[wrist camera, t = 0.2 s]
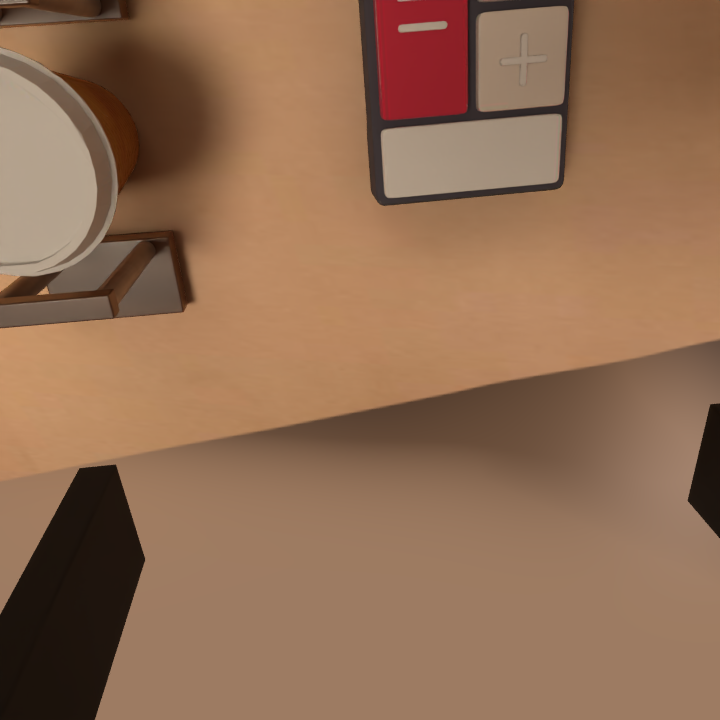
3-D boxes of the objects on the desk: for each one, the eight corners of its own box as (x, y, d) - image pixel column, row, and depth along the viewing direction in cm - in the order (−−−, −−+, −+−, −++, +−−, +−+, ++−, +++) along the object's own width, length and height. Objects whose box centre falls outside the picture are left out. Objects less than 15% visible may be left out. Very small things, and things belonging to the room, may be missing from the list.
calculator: (589, -137, 28) (569, 191, 34) (555, -109, 32) (542, 181, 38) (356, -120, 28) (378, 209, 34) (350, -94, 32) (371, 197, 38)
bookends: (-57, -85, 30) (-230, -151, 20) (106, -94, 30) (12, -163, 21) (66, 314, 40) (-11, 399, 30) (188, 304, 40) (150, 384, 31)
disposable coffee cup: (-30, 52, 33) (-191, 53, 22) (147, 39, 33) (72, 33, 23) (26, 225, 37) (-86, 295, 27) (182, 212, 38) (133, 275, 27)
